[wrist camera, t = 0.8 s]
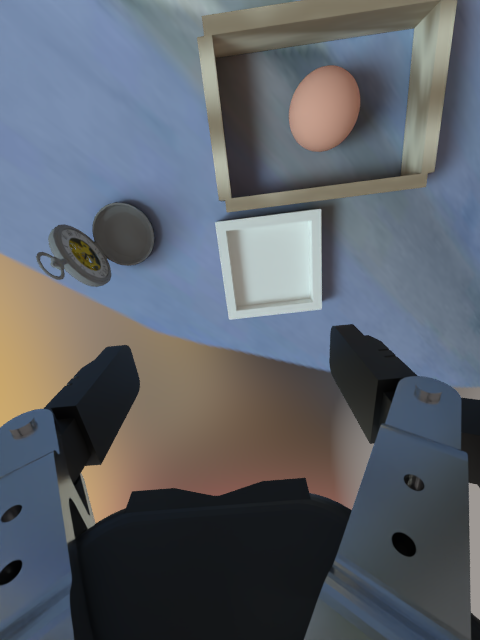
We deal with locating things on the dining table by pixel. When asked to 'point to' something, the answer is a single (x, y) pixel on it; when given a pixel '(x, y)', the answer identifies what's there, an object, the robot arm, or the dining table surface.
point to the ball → (324, 108)
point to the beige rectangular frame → (326, 25)
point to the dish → (271, 263)
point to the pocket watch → (101, 244)
